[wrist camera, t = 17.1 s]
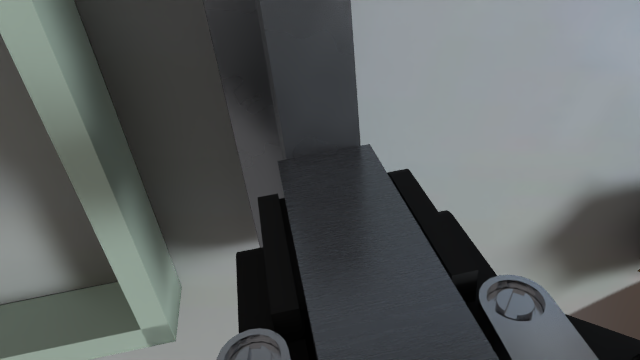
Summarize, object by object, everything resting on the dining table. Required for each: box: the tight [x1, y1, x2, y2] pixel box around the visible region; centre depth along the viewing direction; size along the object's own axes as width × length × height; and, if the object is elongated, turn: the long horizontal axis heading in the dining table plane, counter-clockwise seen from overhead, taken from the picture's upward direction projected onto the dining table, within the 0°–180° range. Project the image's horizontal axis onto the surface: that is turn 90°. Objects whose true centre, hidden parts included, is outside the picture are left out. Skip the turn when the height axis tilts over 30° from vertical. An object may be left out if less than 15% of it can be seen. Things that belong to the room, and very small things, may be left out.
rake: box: [203, 0, 499, 360], centre depth 13 cm, size 4×14×13 cm, turn 7°
